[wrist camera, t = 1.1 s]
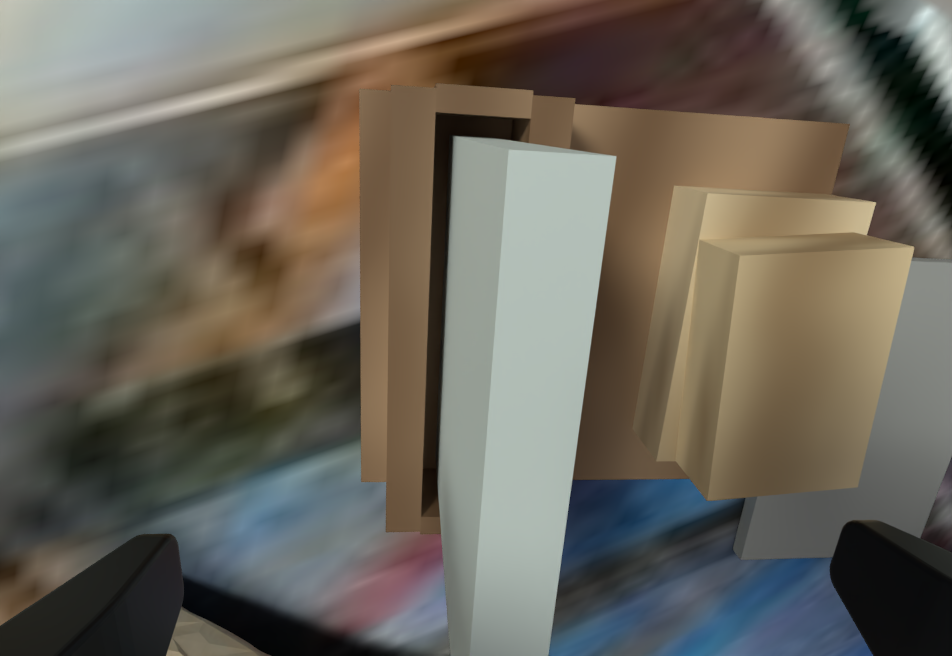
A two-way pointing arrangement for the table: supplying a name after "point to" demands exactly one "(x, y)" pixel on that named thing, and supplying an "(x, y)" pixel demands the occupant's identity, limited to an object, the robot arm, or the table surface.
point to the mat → (879, 439)
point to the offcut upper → (786, 360)
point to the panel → (513, 379)
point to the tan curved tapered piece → (206, 639)
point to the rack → (622, 272)
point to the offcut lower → (688, 223)
